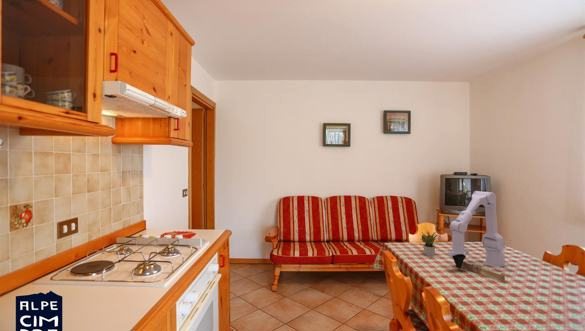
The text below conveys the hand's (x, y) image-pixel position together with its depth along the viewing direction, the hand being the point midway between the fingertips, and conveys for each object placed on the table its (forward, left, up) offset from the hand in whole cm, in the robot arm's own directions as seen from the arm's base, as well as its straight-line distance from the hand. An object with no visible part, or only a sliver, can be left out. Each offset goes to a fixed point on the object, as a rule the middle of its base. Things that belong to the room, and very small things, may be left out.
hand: (458, 267), depth 151 cm
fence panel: (-5, +1, -1) cm, 5 cm away
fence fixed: (-5, +14, -1) cm, 15 cm away
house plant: (-9, -25, -2) cm, 27 cm away
